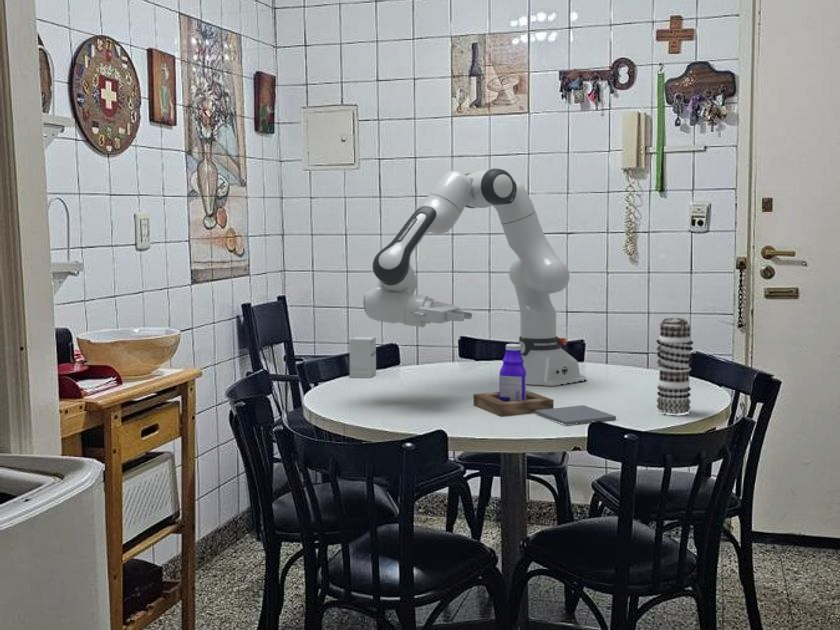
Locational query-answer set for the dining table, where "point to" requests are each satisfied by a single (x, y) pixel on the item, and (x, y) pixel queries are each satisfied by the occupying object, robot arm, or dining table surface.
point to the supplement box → (362, 357)
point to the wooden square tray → (512, 403)
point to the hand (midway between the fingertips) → (467, 317)
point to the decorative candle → (674, 366)
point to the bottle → (512, 375)
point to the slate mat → (575, 414)
